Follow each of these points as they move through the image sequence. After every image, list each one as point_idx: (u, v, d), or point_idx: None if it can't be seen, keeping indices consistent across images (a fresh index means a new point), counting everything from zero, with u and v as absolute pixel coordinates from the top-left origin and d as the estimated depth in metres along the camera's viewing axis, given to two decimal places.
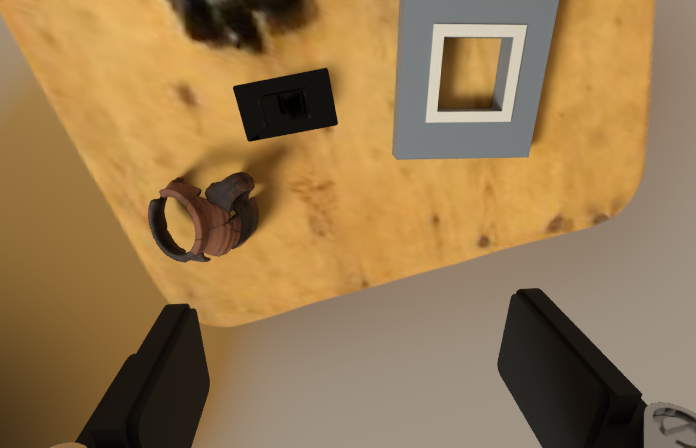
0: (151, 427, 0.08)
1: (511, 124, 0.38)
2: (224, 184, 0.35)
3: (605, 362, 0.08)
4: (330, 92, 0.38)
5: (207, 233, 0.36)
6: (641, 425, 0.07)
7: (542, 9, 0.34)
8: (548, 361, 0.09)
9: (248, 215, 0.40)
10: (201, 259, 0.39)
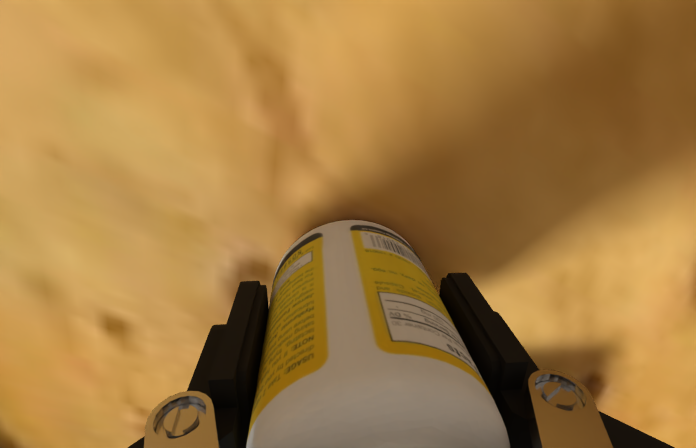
0: (250, 382, 0.09)
1: None
2: None
3: (504, 335, 0.09)
4: None
5: None
6: (526, 389, 0.08)
7: None
8: (463, 337, 0.10)
9: None
10: None
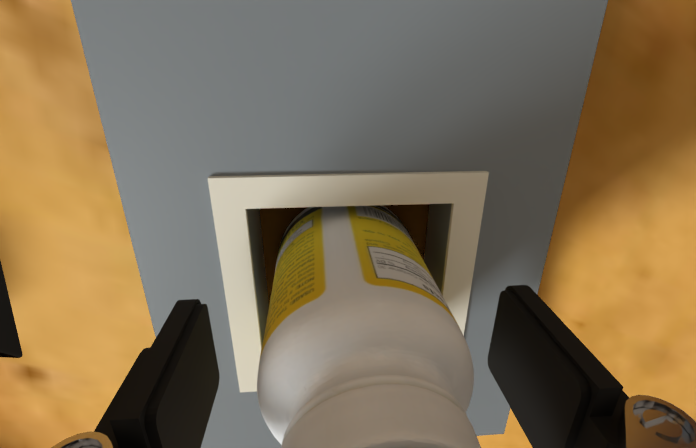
0: (167, 418, 0.08)
1: None
2: None
3: (588, 356, 0.08)
4: (5, 295, 0.15)
5: None
6: (622, 417, 0.08)
7: (534, 130, 0.12)
8: (534, 356, 0.09)
9: None
10: None
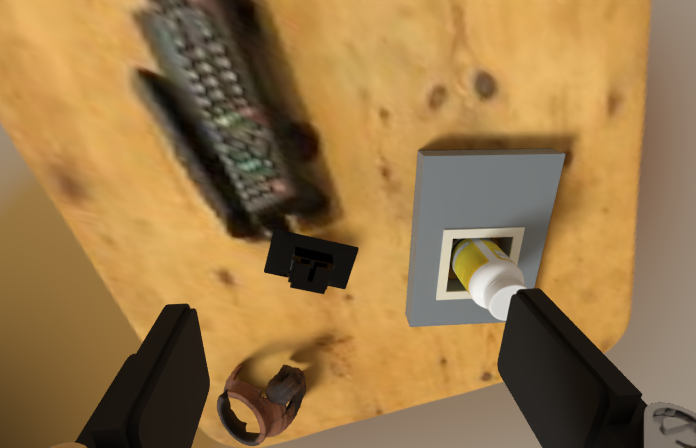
0: (151, 427, 0.08)
1: None
2: (282, 389, 0.42)
3: (605, 362, 0.08)
4: (351, 265, 0.43)
5: (269, 427, 0.43)
6: (641, 425, 0.07)
7: (538, 215, 0.40)
8: (548, 361, 0.09)
9: (299, 395, 0.47)
10: None
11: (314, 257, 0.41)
